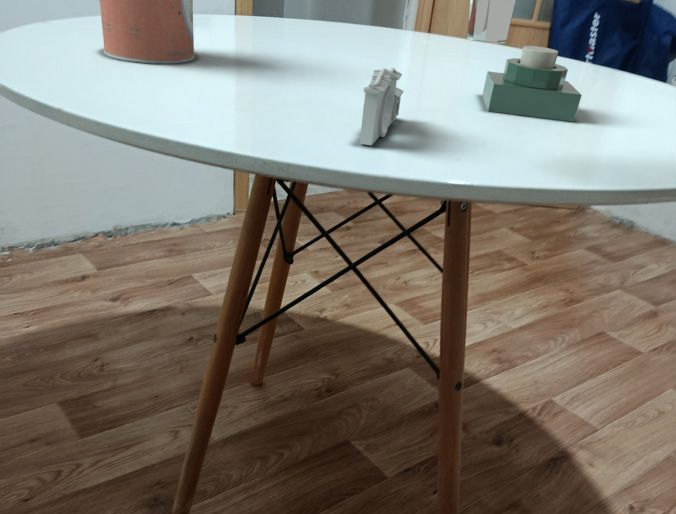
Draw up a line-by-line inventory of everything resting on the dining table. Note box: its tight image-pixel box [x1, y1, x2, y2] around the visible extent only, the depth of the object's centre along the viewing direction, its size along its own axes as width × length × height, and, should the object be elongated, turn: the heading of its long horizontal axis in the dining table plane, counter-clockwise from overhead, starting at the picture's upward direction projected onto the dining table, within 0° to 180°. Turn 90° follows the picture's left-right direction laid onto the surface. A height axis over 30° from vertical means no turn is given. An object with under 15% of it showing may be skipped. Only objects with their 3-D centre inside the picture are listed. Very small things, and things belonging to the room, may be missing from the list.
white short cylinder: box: [519, 45, 559, 69], centre depth 74 cm, size 4×4×2 cm
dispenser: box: [481, 57, 582, 123], centre depth 76 cm, size 10×8×5 cm
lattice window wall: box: [359, 67, 405, 146], centre depth 60 cm, size 12×2×6 cm, turn 164°
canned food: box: [99, 0, 196, 65], centre depth 79 cm, size 11×11×12 cm
